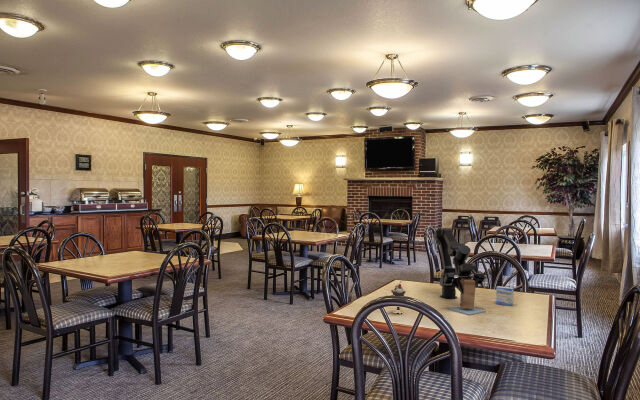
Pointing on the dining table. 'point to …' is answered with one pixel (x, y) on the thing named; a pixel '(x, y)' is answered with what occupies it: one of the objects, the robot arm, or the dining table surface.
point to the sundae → (398, 292)
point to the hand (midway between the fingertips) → (468, 293)
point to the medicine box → (504, 295)
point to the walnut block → (467, 293)
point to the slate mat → (467, 310)
